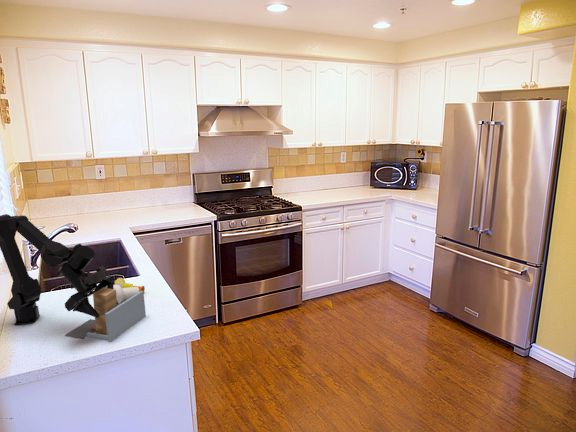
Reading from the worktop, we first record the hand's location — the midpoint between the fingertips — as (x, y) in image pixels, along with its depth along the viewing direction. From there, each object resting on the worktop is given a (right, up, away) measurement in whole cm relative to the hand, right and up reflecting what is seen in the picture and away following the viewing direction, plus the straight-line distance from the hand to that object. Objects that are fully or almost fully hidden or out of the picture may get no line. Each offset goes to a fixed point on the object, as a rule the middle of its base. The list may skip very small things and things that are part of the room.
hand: (108, 310), depth 139 cm
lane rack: (+1, -7, +6) cm, 9 cm away
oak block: (-3, -8, +3) cm, 9 cm away
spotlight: (-5, -3, +26) cm, 27 cm away
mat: (-10, -8, +5) cm, 13 cm away
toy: (-7, -1, +37) cm, 37 cm away
